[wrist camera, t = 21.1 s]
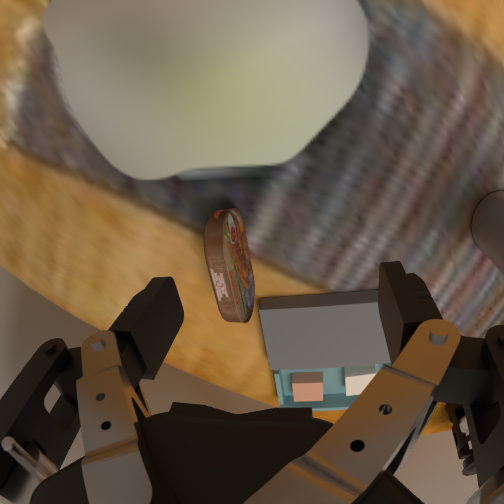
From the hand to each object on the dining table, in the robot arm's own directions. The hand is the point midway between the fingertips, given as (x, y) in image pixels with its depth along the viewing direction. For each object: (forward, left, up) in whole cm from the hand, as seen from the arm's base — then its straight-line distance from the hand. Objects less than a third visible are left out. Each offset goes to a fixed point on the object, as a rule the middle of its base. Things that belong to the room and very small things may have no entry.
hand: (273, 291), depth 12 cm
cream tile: (-7, +36, -27) cm, 45 cm away
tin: (+9, +12, -28) cm, 32 cm away
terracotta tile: (+1, +37, -27) cm, 46 cm away
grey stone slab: (-3, +25, -28) cm, 38 cm away
